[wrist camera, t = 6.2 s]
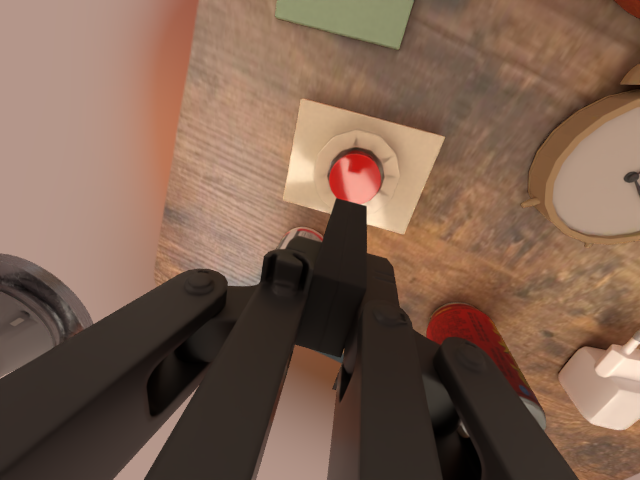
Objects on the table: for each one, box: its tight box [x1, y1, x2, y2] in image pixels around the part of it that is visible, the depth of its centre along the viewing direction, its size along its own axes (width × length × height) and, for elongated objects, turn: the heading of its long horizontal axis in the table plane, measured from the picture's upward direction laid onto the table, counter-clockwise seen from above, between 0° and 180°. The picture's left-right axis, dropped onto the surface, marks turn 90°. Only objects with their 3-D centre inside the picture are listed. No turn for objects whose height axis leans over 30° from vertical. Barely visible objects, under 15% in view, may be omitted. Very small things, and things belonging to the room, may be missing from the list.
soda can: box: [427, 302, 546, 436], centre depth 27 cm, size 7×7×12 cm
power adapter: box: [559, 329, 640, 430], centre depth 28 cm, size 11×5×6 cm, turn 172°
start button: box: [329, 151, 381, 204], centre depth 22 cm, size 4×4×2 cm
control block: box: [283, 98, 445, 235], centre depth 24 cm, size 12×9×4 cm
